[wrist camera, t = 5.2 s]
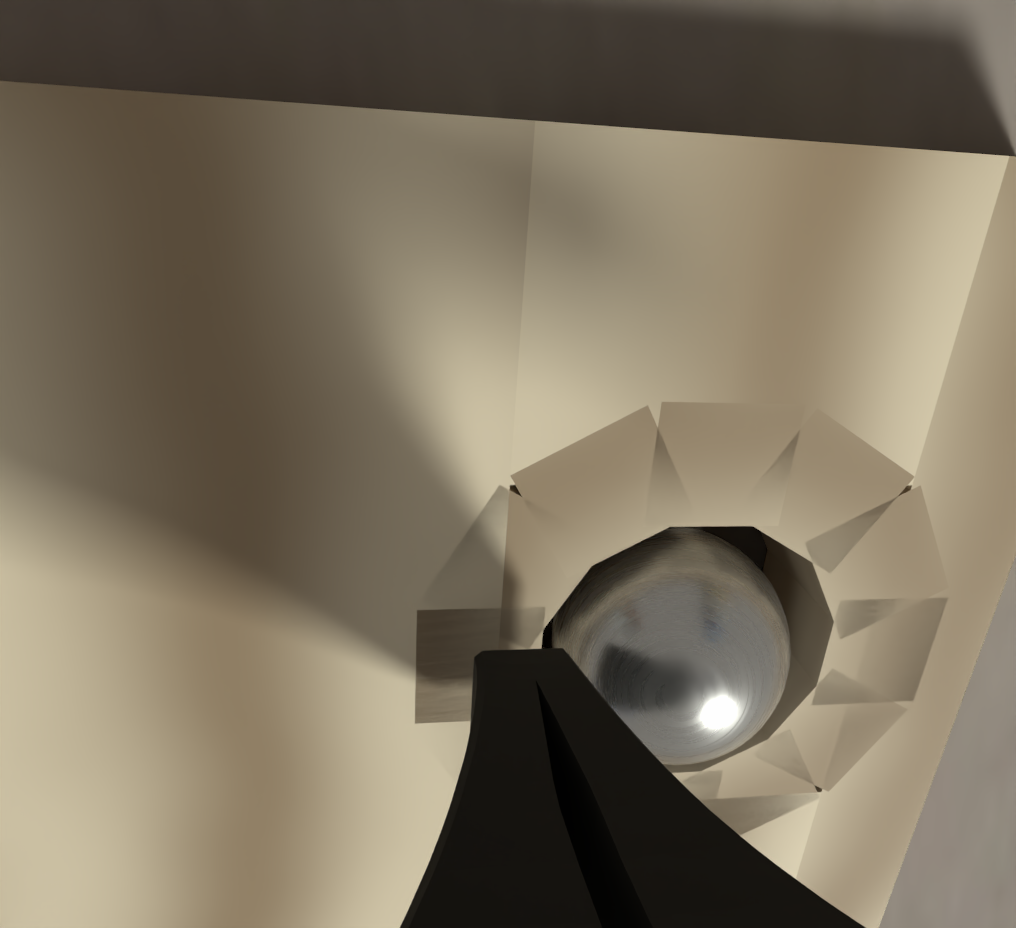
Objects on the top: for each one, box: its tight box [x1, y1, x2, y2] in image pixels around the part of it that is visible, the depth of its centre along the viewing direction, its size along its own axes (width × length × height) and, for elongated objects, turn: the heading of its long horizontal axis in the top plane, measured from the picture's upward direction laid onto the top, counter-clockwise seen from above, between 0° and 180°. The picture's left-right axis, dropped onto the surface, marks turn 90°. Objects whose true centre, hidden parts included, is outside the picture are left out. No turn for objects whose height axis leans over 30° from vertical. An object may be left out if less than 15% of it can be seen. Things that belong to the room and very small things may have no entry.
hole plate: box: [0, 81, 1016, 928], centre depth 13 cm, size 18×16×2 cm
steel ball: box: [552, 527, 791, 765], centre depth 13 cm, size 4×4×4 cm
